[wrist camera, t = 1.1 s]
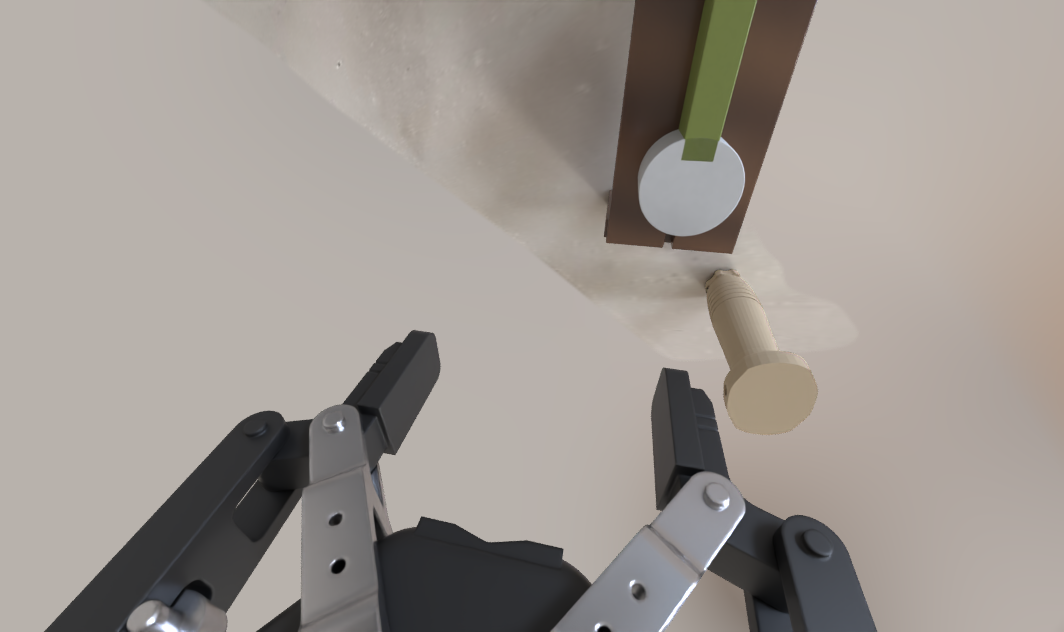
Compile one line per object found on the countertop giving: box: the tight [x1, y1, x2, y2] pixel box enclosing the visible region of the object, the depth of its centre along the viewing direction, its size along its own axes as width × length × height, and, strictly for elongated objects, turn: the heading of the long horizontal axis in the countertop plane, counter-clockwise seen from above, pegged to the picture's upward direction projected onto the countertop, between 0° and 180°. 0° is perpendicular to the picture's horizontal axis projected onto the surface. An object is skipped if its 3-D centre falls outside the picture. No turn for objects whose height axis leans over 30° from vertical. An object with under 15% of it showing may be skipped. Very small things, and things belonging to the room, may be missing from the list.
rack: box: [604, 0, 817, 254], centre depth 25 cm, size 18×9×8 cm, turn 0°
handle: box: [705, 269, 818, 435], centre depth 30 cm, size 5×6×15 cm
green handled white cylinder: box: [638, 0, 757, 236], centre depth 20 cm, size 14×6×3 cm, turn 0°
